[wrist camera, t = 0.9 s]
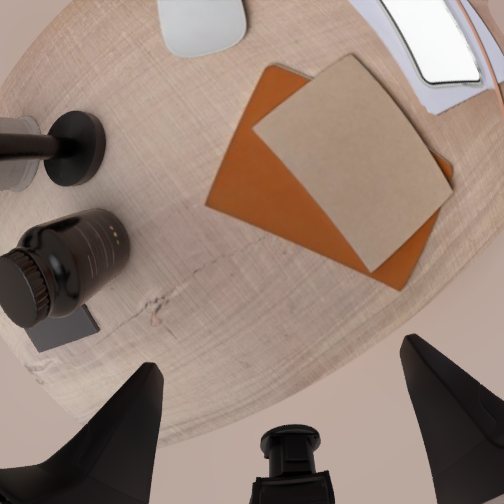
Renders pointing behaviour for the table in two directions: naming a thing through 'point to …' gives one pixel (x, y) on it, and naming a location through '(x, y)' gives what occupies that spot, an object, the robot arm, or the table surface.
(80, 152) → the desk lamp
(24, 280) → the supplement bottle
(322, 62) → the table surface
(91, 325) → the slate tile
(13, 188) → the glass holder
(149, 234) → the table surface
